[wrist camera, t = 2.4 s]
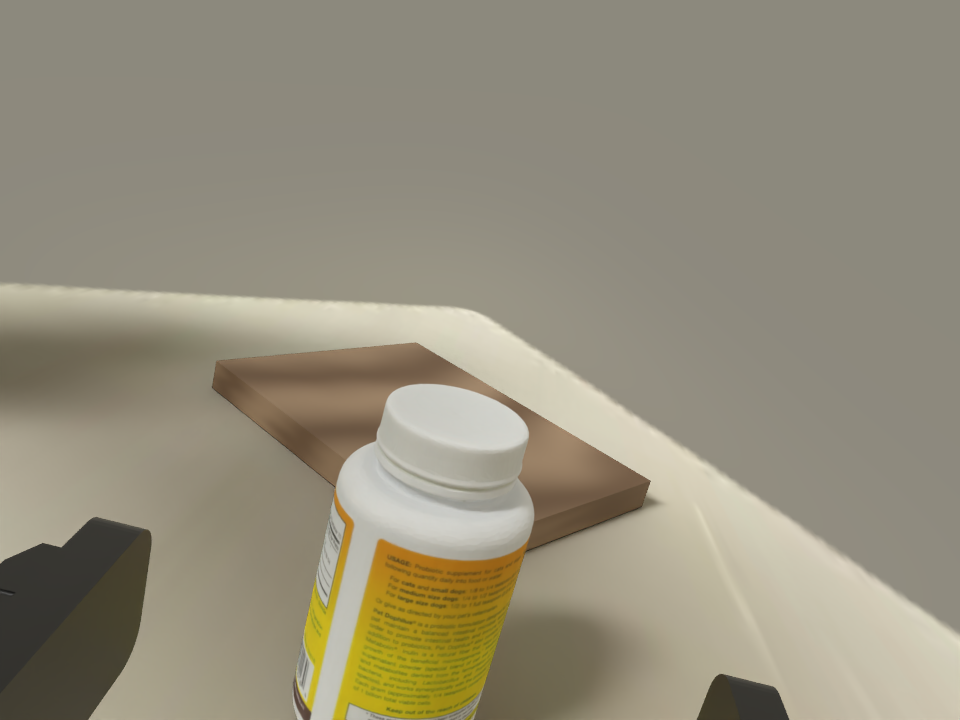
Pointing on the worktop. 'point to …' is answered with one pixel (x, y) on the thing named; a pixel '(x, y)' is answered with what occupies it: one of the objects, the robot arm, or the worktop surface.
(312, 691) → the supplement bottle
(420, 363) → the walnut board
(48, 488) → the worktop surface
